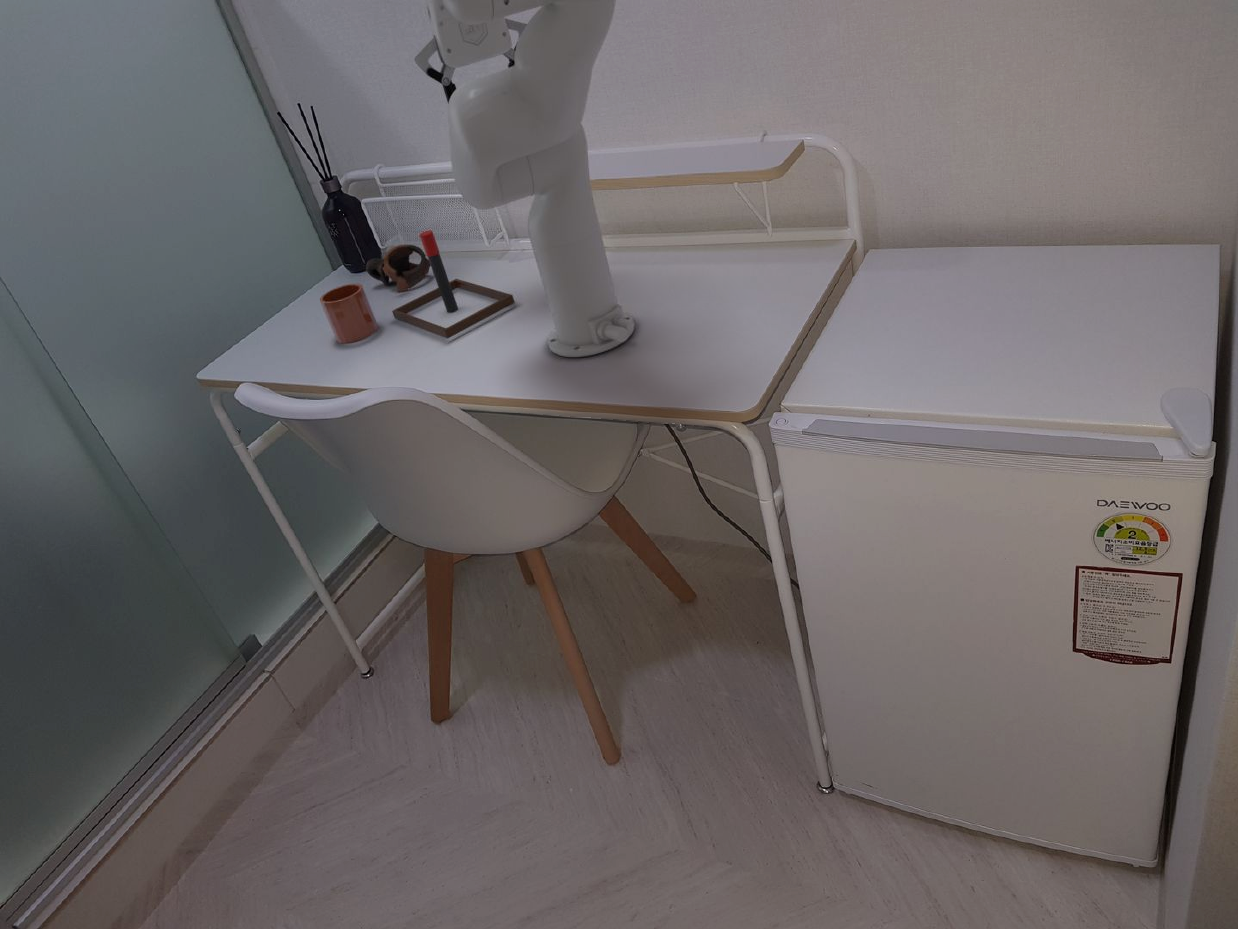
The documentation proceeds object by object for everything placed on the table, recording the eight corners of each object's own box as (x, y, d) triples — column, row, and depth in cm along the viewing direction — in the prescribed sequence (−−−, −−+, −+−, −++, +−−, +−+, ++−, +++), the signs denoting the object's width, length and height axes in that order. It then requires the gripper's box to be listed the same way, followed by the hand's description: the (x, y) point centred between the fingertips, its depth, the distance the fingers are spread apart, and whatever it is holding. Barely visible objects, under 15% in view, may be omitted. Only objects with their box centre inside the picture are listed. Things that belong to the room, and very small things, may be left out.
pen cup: (387, 332, 151) (369, 287, 147) (350, 350, 148) (331, 305, 144) (368, 324, 156) (350, 280, 152) (331, 342, 153) (312, 298, 149)
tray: (516, 306, 148) (512, 294, 147) (449, 342, 142) (444, 330, 141) (460, 289, 160) (456, 278, 159) (396, 322, 154) (391, 310, 153)
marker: (461, 309, 151) (434, 231, 143) (451, 314, 150) (423, 236, 142) (454, 307, 152) (428, 229, 145) (444, 312, 151) (416, 234, 144)
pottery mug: (437, 270, 173) (432, 239, 165) (433, 310, 168) (427, 279, 161) (372, 268, 172) (364, 237, 165) (366, 308, 167) (357, 277, 160)
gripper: (397, -10, 121) (439, 122, 130) (519, -44, 125) (551, 87, 134) (388, -11, 127) (428, 115, 137) (504, -44, 131) (536, 81, 140)
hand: (489, 101), depth 135 cm, fingers open, 9 cm apart
